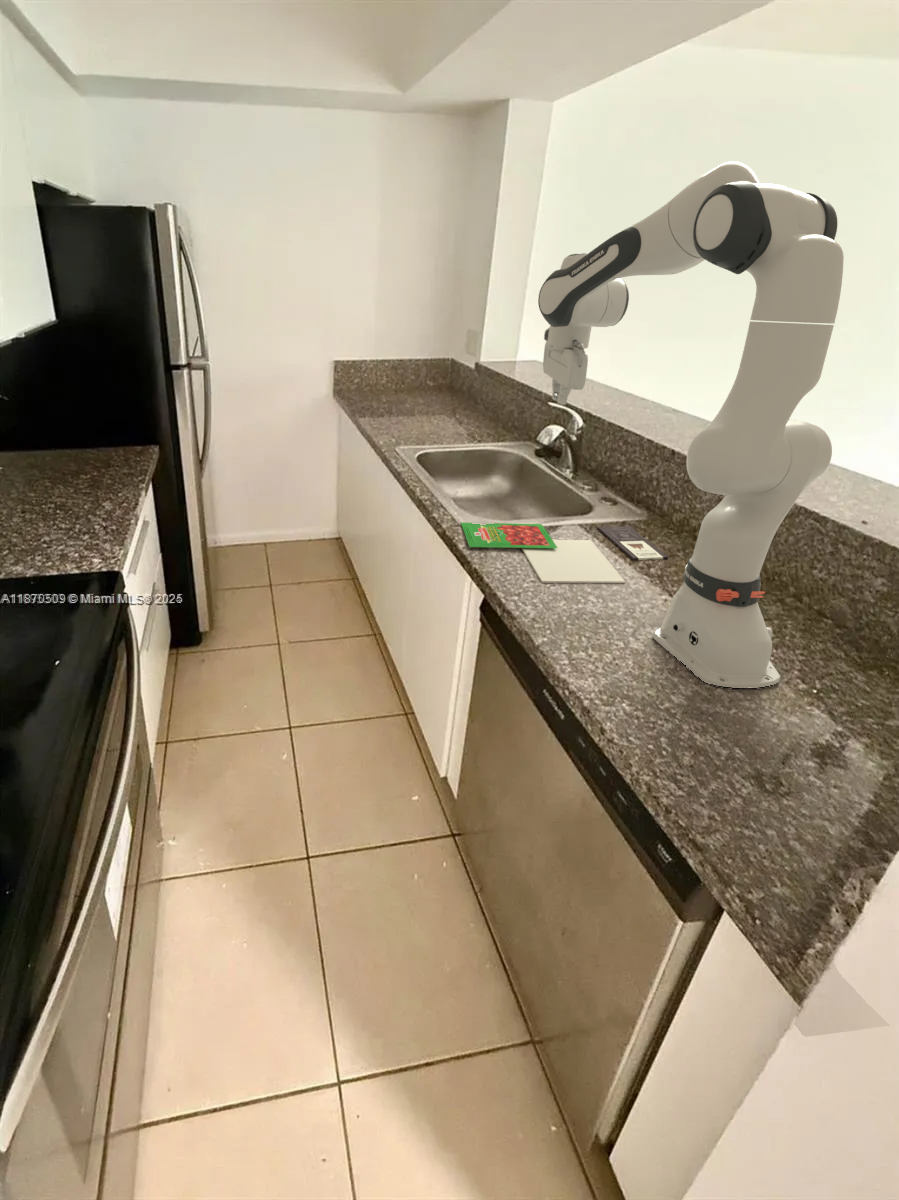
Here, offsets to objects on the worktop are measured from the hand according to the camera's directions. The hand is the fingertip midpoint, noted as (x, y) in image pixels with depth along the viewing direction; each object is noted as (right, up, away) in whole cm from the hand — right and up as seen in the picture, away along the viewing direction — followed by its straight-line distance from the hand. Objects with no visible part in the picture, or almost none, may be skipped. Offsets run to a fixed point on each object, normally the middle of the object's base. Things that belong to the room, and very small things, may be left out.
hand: (558, 402), depth 148 cm
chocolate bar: (+18, -32, +6) cm, 38 cm away
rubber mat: (+1, -37, -6) cm, 37 cm away
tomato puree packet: (-1, -30, +4) cm, 30 cm away
